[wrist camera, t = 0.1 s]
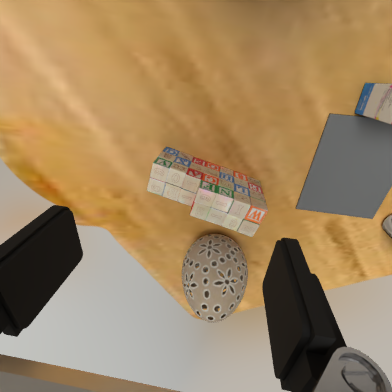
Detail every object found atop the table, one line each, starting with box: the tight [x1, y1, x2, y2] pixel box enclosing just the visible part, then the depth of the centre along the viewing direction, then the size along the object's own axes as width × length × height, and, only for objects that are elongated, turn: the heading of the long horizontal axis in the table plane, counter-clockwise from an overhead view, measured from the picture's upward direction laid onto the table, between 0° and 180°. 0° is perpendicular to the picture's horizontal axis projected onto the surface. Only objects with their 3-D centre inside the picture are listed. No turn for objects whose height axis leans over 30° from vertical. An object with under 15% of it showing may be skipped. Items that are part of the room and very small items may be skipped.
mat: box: [296, 114, 392, 219], centre depth 43 cm, size 20×16×1 cm
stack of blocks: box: [147, 147, 268, 237], centre depth 43 cm, size 21×6×12 cm, turn 72°
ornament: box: [182, 234, 248, 322], centre depth 49 cm, size 15×15×20 cm
